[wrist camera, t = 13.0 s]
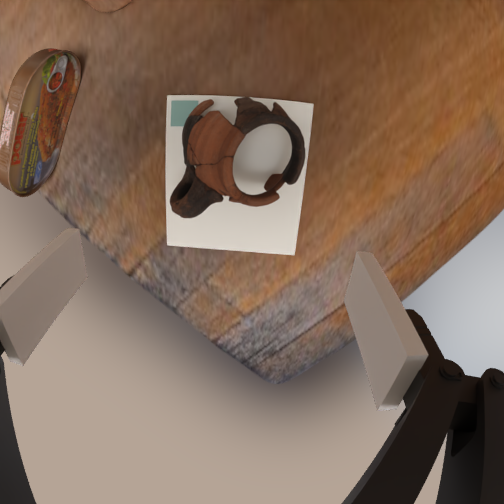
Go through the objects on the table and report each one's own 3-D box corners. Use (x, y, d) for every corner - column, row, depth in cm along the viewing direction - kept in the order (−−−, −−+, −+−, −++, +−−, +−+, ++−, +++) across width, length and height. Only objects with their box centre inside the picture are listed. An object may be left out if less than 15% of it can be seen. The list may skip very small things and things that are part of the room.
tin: (53, 184, 31) (8, 211, 23) (34, 175, 30) (-12, 199, 23) (92, 54, 24) (44, 48, 17) (69, 49, 24) (20, 43, 16)
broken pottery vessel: (218, 69, 25) (269, 75, 19) (278, 131, 31) (333, 155, 26) (130, 175, 26) (153, 215, 20) (204, 221, 33) (242, 266, 27)
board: (311, 103, 27) (314, 104, 26) (293, 249, 34) (294, 256, 32) (170, 95, 27) (166, 95, 25) (170, 240, 34) (166, 246, 32)
